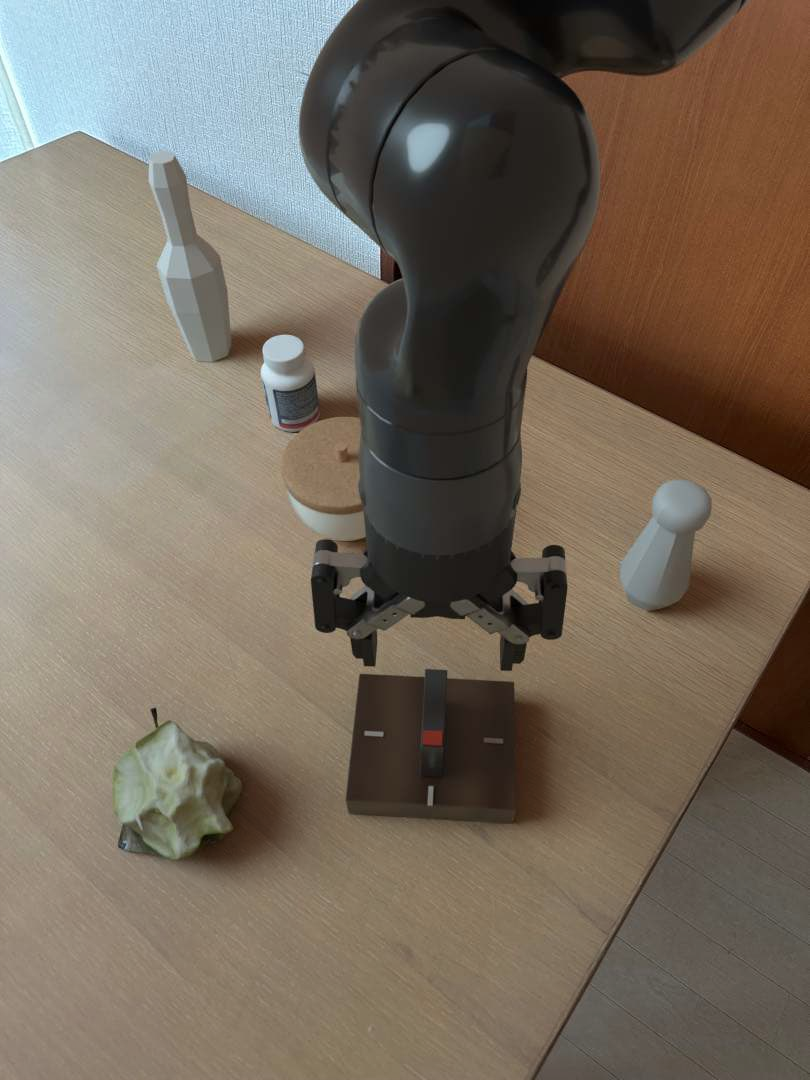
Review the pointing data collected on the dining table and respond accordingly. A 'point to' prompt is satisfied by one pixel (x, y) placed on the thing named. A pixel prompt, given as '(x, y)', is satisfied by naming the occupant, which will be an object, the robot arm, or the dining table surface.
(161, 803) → the fruit
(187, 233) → the faceted bottle
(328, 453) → the trinket box
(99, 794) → the dining table surface
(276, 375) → the pill bottle
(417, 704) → the handle panel
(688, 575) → the salt shaker
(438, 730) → the handle
